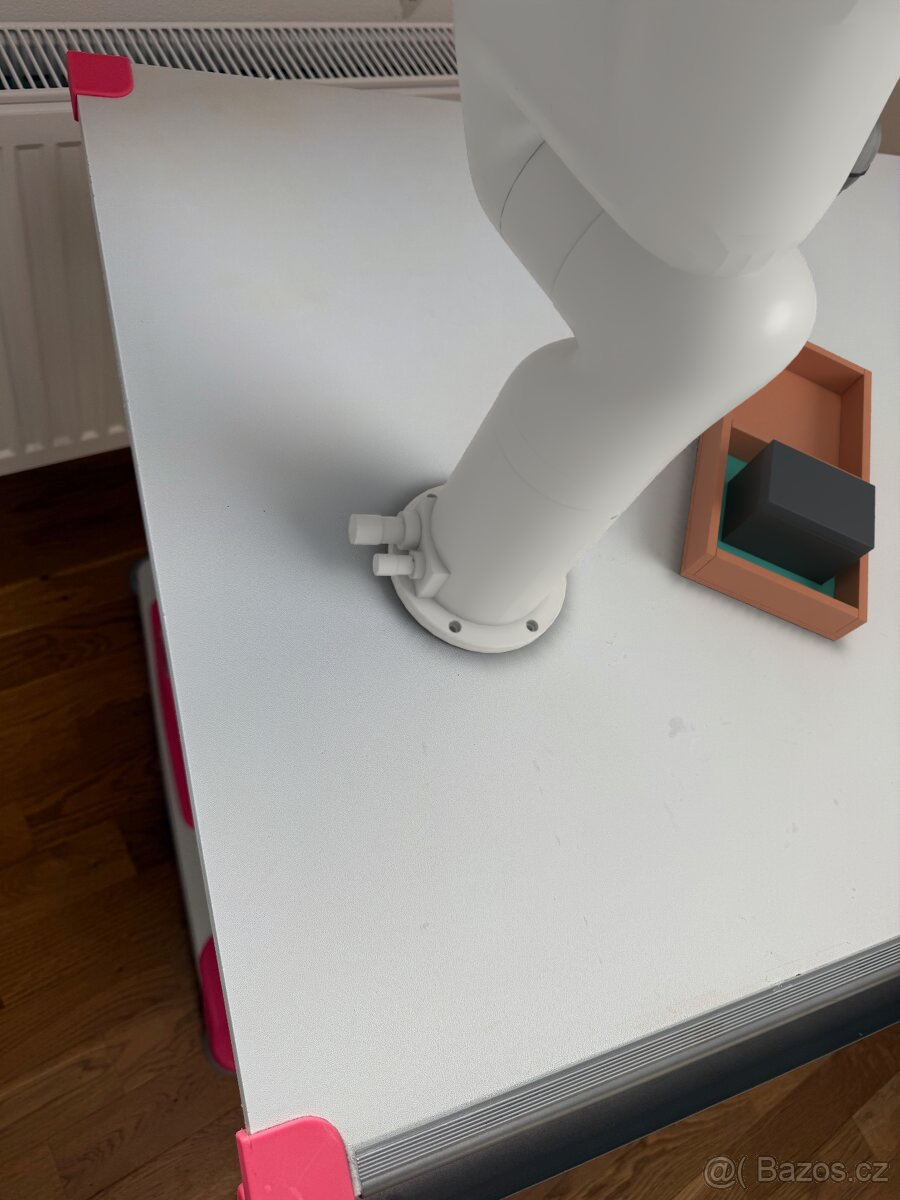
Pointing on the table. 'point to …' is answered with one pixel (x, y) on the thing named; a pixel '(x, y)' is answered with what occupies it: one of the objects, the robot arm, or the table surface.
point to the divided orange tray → (815, 427)
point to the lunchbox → (799, 513)
